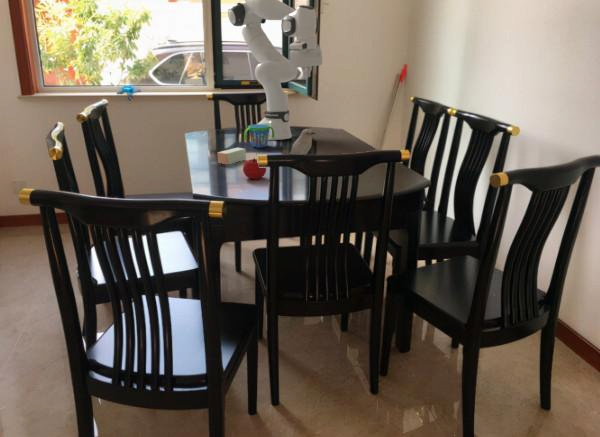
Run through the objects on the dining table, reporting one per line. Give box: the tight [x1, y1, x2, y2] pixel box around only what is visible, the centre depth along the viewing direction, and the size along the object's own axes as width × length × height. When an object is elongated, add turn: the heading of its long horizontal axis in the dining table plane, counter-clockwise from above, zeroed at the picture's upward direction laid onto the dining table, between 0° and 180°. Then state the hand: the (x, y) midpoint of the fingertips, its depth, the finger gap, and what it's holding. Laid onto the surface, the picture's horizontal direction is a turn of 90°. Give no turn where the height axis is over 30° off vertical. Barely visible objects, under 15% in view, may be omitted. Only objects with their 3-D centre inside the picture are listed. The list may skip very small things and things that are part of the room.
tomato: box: [242, 157, 267, 180], centre depth 193 cm, size 9×9×8 cm
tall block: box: [216, 147, 247, 166], centre depth 219 cm, size 5×5×12 cm
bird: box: [288, 128, 316, 155], centre depth 212 cm, size 5×14×15 cm, turn 63°
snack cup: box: [243, 123, 274, 149], centre depth 248 cm, size 16×10×10 cm
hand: (306, 77), depth 231 cm, fingers closed
